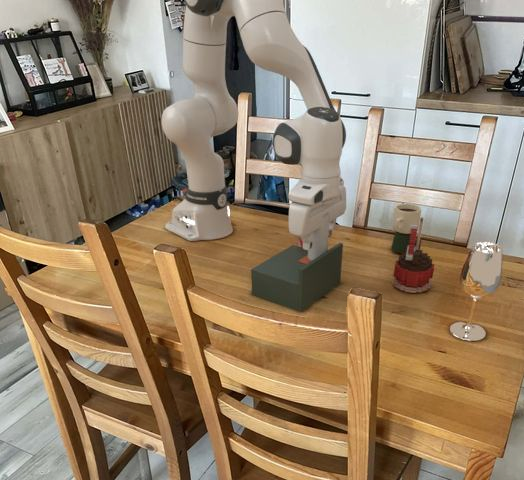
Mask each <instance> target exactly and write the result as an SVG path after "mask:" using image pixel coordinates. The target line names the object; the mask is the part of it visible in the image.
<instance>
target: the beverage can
mask: <svg viewBox="0 0 524 480" xmlns="http://www.w3.org/2000/svg"><path fill="white" fill-rule="evenodd" d="M328 234H329V213H328V214H327V215H325V216H323V219H322V226H321V227H320V228H319V229H317V230H315V231H314V232H312V233H311V236H310V237H309V239H310V241H312V248H311V249H309V250H308V258H309V260H310V261H312V260H314V259H315V258H317V257H318V256H320V255H321V254H323V253H325V252H326V251H328V250H329V237H328Z"/></svg>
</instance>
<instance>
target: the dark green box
mask: <svg viewBox="0 0 524 480" xmlns="http://www.w3.org/2000/svg"><path fill="white" fill-rule="evenodd" d="M343 249H344V242H343V243H342V242H338V243H337V244H336V245H334V246H332V247H331V248H328V251H326V252H325V253H323V254H321V255H320V256H318V257H317V258H315V259H314V260H312V261H310V260H309V258H308V250H305V249H303V247H299V246H298V245H295V244H292V245H290V246H288V247H287V248H284V249H283V250H282V251H280V252H278V253H276V254H275V255H273V256H271V257H270V258H268V259H266V260H265V261H262V262H260V263H259V264H258V265H256V266H254V267H253V268H251V269H250V273H251V274H250V277H251V278H250V279H251V280H250V282H251V295H252V296H254V297H257V298H261V299H263V300H266V301H269V302H272V303H274V304H277V305H280V306H283V307H286V308H289V309H291V310H294V311H297V312H300V313H302V312H304V311H305V310H307V309H308V308H309V307H310V306H312V305H313V304H315V303H317V301H318V300H320V299H322V298H323V297H324V296H326V295H327V294H328V293H329V292H331V291H332V290H333V289H335V288H337V286H339V285H340V284H341V277H342V267H343V266H342V262H343Z"/></svg>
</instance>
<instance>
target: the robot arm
mask: <svg viewBox="0 0 524 480" xmlns="http://www.w3.org/2000/svg"><path fill="white" fill-rule="evenodd" d="M183 1H184V3H185V5H186V7H185V12H184V19H183V29H182V71H183V74H184V75H185V77H186V78H188V79H189V80H190V81H191V82H192V85H193V88H194V95H193V97H189V98H186V99H180V100H177V101H176V102H174V103H172V104H170V105H169V106H167V107H166V108H165V109H164V110H163V111H162V114H161V128H162V131H163V133H164V135H165V136H166V138H167V139H168V140H169V141H170V142H171V143H173V144H174V145H175V146H176V147H177V149H179V151H180V153H181V155H182V157H183V161H184V165H185V170H186V176H187V184H188V186H187V187H185V188H182V194H184V193H185V197H184V199H183V198H181V197H180V196H177V195H173V196H172V197H171V199H170V200H171V201H174V200H178V201H179V203H178V204H177V205H175V206H174V207H173V209H172V212H171V220H169V221H168V222H167V223H166V224H165V226H164V228H165V230H167V231H169V232H171V233H173V234H175V235H177V236H179V237H180V238H183V239H185V240H187V241H189V242H195V241H196V242H197V241H209V240H210V241H212V240H217V239H222V238H225V237H228V236H230V235H231V234H233V232H234V227H233V225H232V220H231V217H230V216H231V215H230V214H231V213H230V206H228V188H227V184H226V179H225V178H226V177H225V162H224V159H223V158H222V156H221V155H220V154H218V153H217V152H214V150H213V147H212V143H211V138H214V137H215V136H220V135H222V134H225V133H226V132H228V131H229V130H231V129H232V128H234V127H235V126H236V124H237V123H238V120H239V108H238V104H237V103H236V101H235V99H234V98H233V97H232V96H231V95H230V92H229V90H228V87H227V82H226V49H227V31H228V30H227V28H228V22H229V21H230V19H231V18H232V17H235V20H236V25H237V28H238V31H239V35H240V39H241V42H242V46H243V48H244V51H245V54H246V55H247V57H248V59H249V60H250V61H251V62H252V63H253V64H254V65H255V66H256V67H258V68H260V69H262V70H265V71H267V72H271V73H275V74H277V75H280V76H282V77H284V78H287V79H288V80H290V81H291V82H292V83H293V84H294V85H295V86H296V87H297V88H298V91H299V94H300V95H301V98H302V100H303V102H304V104H305V107H306V110H305V112H304V113H303V114H302V115H300V116H298V117H296V118H293V119H289V120H286V121H283V122H280V123H279V124H278V125H277V127H276V128H275V130H274V132H273V138H272V148H273V152H274V154H275V157H276V158H277V160H279V161H280V162H281V163H282V164H284V165H288V166H289V165H292V166H294V165H299V166H300V167H301V176H300V178H299V179H298V180H297V182H296V183H295V185H294V186H293V188H291V189H290V190H289V191H288V197H287V198H288V201H290V204H289V207H288V231H289V234H290V235H291V236H293V237H295V238H296V237H297V238H298V237H300V238H301V240H302V242H303V249H305V250H309V249H311V248H312V241H310V239H309V237H310V236H311V233H312V232H314V231H315V230H317V229H319V228H320V227H321V226H322V219H323V216H325V215H327V214H328V213H329V234H328V238H330V237H332V236H333V235H334V228H335V226H336V223H337V219H338V218H339V217H341V216H343V215H344V214H345V212H346V210H347V188H346V186H345V181H344V179H343V178H342V176H341V172H342V171H341V167H340V161H341V157H342V154H343V148H344V146H345V143H346V140H347V130H346V127H345V124H344V122H343V120H342V118H341V115H340V114H339V112H337V110H336V108H335V107H334V105H333V103H332V101H331V97H330V95H329V92H328V90H327V88H326V86H325V83H324V81H323V78H322V76H321V74H320V71H319V69H318V67H317V65H316V62H315V60H314V58H313V55H312V54H311V52H310V50H309V49H308V48H307V47H306V46H305V45H303V43H302V42H301V41H300V40H299V38H298V37H297V35H296V33H295V32H294V30H293V28H292V26H291V24H290V21H289V19H288V15H287V12H286V9H285V5H284V2H283V0H183Z"/></svg>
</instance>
